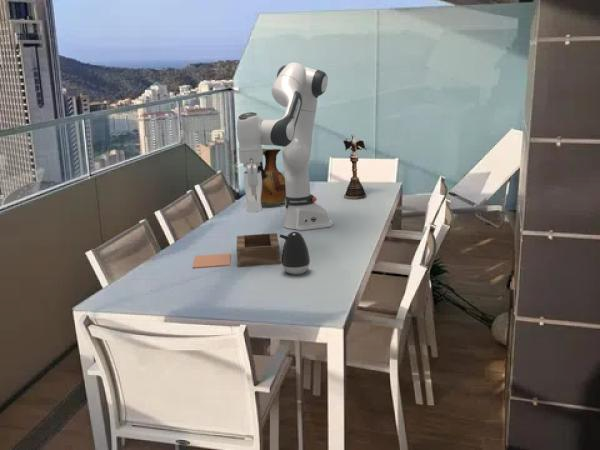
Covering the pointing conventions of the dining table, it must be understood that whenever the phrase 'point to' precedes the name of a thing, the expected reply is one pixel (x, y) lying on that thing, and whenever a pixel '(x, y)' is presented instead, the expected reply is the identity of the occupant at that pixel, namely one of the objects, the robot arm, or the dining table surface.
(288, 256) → the pump dispenser
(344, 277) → the dining table surface
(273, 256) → the walnut box
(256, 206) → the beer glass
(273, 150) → the ceramic pitcher
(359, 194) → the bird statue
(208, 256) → the terracotta mat
